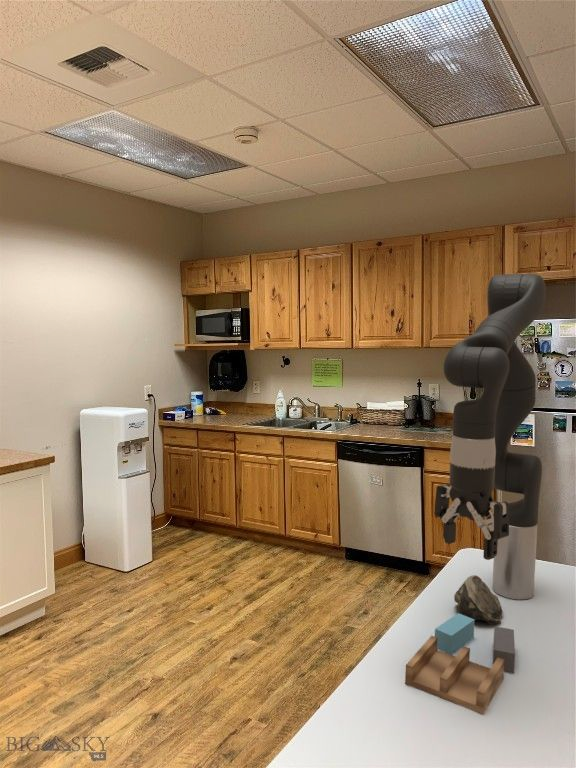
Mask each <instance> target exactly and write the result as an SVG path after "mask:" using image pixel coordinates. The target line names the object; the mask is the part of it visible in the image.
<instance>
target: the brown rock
mask: <svg viewBox="0 0 576 768" xmlns="http://www.w3.org/2000/svg"><path fill="white" fill-rule="evenodd" d="M453 598H454V599H453V600H454V602H455V603H457V606H458V607H457V613H456V614H458V613H459V614H462V615H464V616H467V617H469V618H472V619H474V621H478V620H481V621H485V622H487V623H488V624H491V625H494V624H497V623H499V622H501V621H502V617H503V614H504V612H503V611H504V610H503V607H502V605H501V602H500V600H499V598H498V596H497V595H496V594H494V593H493V592H492V591H491V589H490V587H489V586H488V584H486V583H485V581H483V579H482V578H481V577H480V576H479V575H476V574H474V575H473V574H472V575H470V576H468V577H467V578H466V579H465V581H464V582H463V583H462V584H461V586H460V587H459V588H458V590H457V591H456V592H455V593H454V597H453Z"/></svg>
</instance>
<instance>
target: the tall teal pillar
mask: <svg viewBox="0 0 576 768" xmlns="http://www.w3.org/2000/svg"><path fill="white" fill-rule="evenodd" d="M474 635H475V620H474V619H472V618H469V617H467V616H464V615H462V614H459V613H458V614H457V613H456V614H455V615H454V616H452V617H451V618H449V619H447V620H446V621H444V622H442V623H441V624H440V625H439V626H437V627H435V628H434V637H437V638H438V639H437V650H438V651H441V652H444V653H447V654H450V655H453V654H454V653H455V652H456V651H458V650H459V649H461V648H462V647H463V646H465V644H467V643H469V642H470V641H471V640H472V639H474V638H475V637H474Z"/></svg>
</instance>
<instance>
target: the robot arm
mask: <svg viewBox="0 0 576 768" xmlns="http://www.w3.org/2000/svg"><path fill="white" fill-rule="evenodd" d="M486 296H487V297H486V298H487V299H486V301H487V313H488V315H487V316H486V318H484V319H483V320H481V322H480V323H479V324H478V326H477V327H476V329H475V331H474V332H473V334H471V335H469V336H467V337H465V338H463V339H462V340H460V341H459V342H457V343H456V344H455V345H453V346H452V348H450V350H449V351H448V353H447V355H446V357H445V359H444V362H443V374H444V376H445V377H444V378H446V380H447V382H448V383H450V385H452V386H456V387H459V388H461V387H462V388H473V389H483V391H482V394H481V396H480V397H479V398H476V399H469V400H461V401H459V402H457V403H455V405H454V407H453V415H452V418H453V419H452V436H451V437H452V438H451V444H450V454H449V455H450V457H449V459H450V460H449V483H445V484H440V485H437V486H436V491H435V504H434V516H435V517H436V518H440V520H441V521H442V523H443V532H442V533H443V534H442V536H443V539H444V543H445V544H448V545H450V544H454V543H456V539H457V537H456V535H457V522H456V520H457V519H458V517H462V518H467V519H468V520H470V521H473V522H474V521H475V523H476V525H477V527H478V528H480V530H481V532H482V533H483V536H484V537H485V538H483V559H484V560H487V561H489V560H493V563H492V564H493V565H492V566H493V567H492V569H493V570H492V587H491V588H492V590H493V592H495V593H496V594H498V595H499V596H501V597H504V598H507V599H512V600H529V599H531V598H532V597H533V596H534V593H535V592H534V591H535V590H534V589H535V578H536V577H535V576H536V575H535V574H536V559H537V542H538V541H537V540H538V522H539V519H538V518H539V505H540V504H539V503H540V495H541V494H540V493H541V485H542V484H541V483H542V476H543V465H542V460H541V457H539V456H537V455H534V454H525V453H519V452H518V453H516V452H509V451H508V446H509V443H510V442H511V441H510V440H511V439H512V437H513V436H514V434H515V433H516V431H517V430H518V428H519V427H520V426H521V425H522V424H523V423H524V422H525V421H526V419H527V418H528V417H529V415H530V413H531V412H532V411H533V409H534V407H535V405H536V388H537V387H536V384H537V383H536V380H537V379H536V375H535V372H534V369H533V367H532V366H531V364H530V362H529V361H528V359H527V357H525V355H524V354H523V352H522V351H521V349H520V348H519V347H518V345H517V344H516V339H517V338H518V337H519V336H520V335H521V333H522V332H524V331H525V330H526V329H527V328H528V327H530V325H531V324H533V322H535V320H537V319H538V318H539V317H540V315H541V313H542V312H543V310H544V307H545V304H546V297H547V287H546V283H545V280H544V278H543V276H541V275H539V274H535V273H509V274H508V273H507V274H495V275H492V277H491V278H490V280H489V283H488V286H487V294H486ZM494 489H495V490H497V491H501V492H505V493H506V492H508V493H514V494H519V495H523V498H522V499H518V500H517V501H514V502H513V501H512V502H508V501H502V502H499V501H495V500H494V499H493V495H492V494H493V491H494ZM450 499H451V502H452V503H451V504H450ZM491 510H492V511H491ZM484 517H485V518H486V519H484Z"/></svg>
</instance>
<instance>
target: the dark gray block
mask: <svg viewBox="0 0 576 768" xmlns="http://www.w3.org/2000/svg"><path fill="white" fill-rule="evenodd" d="M493 630H494V631H493V644H492V645H493V650H492V652H493V653H492V655H493V657H492V665H493V664H494V662H495V661H496V659H497V658H501V659H504V673H508V674H509V673H510V674H514V673H515V662H516V660H515V658H516V657H515V656H516V648H515V646H516V645H515V629H511V628H508V627H507V628H506V627H501V626H494V629H493Z"/></svg>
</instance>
